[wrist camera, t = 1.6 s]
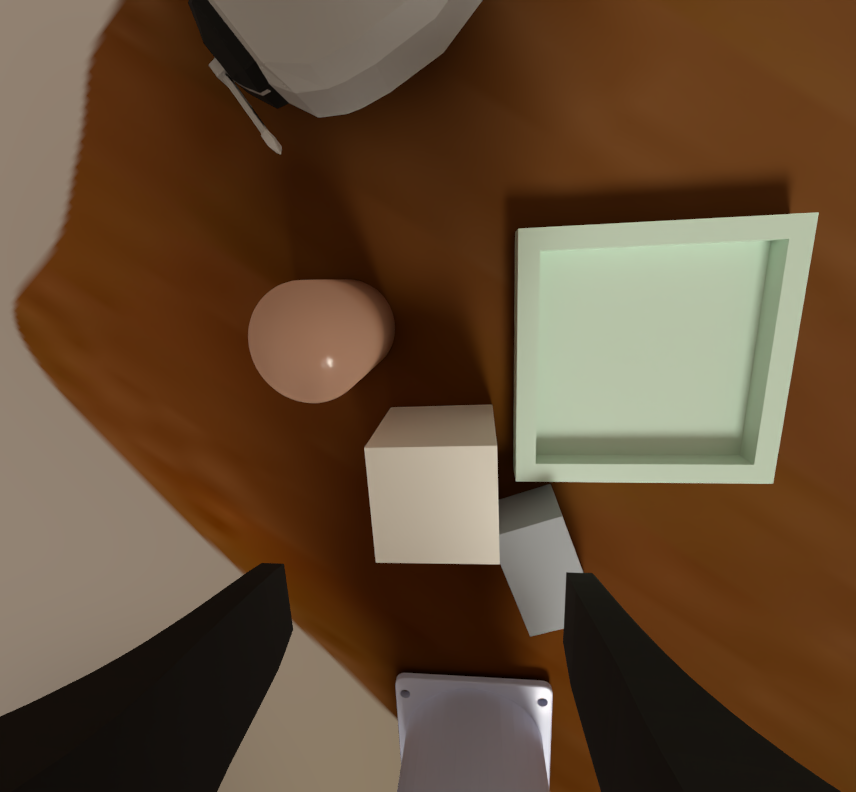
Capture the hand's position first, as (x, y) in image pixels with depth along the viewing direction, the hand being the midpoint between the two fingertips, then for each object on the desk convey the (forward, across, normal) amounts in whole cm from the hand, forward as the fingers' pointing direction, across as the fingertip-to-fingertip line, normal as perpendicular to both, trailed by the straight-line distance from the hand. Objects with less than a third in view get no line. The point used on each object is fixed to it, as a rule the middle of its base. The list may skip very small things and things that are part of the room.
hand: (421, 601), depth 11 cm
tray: (+9, -8, -4) cm, 13 cm away
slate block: (+10, -4, +4) cm, 11 cm away
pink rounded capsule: (+10, +4, -6) cm, 12 cm away
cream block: (+10, 0, 0) cm, 10 cm away
